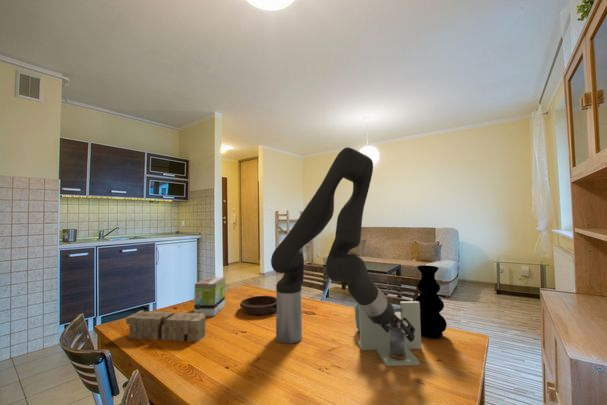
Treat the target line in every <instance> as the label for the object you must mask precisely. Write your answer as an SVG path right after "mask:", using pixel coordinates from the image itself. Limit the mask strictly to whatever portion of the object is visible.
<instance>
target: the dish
mask: <svg viewBox="0 0 607 405" xmlns="http://www.w3.org/2000/svg"><path fill="white" fill-rule="evenodd" d="M239 307H240V308H242V309H243V312H245V313H246V314H248V315H252V316H253V315H254V316H265V315H269V314H271V313H275V314H276V313H277V302H276V297H275V296H270V295H255V296H251V297H248V298H245V299H243V300H241V301H240V302H239Z"/></svg>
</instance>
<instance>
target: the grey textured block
mask: <svg viewBox="0 0 607 405" xmlns="http://www.w3.org/2000/svg"><path fill="white" fill-rule="evenodd" d="M206 317H207V316H205V314H204V313H202V314H201V313H194V312H176V313H175V312H174V311H145V310H143V309H142V310H139V311H137V312H135V313H133V314H131V315H128V316H127V317H125V323H126V325H129V331H128V338H129V339H140V340H143V339H144V340H154V341H155V340H157V341H158V340H159V339H160V338H161V339H160V340H163V341H180V342H181V341H182V342H183V341H185V340H186V339H187V340H186V342H196V343H198V342H200V341H201V340H202V339H203V338H205V337H206Z"/></svg>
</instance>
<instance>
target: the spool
mask: <svg viewBox="0 0 607 405" xmlns="http://www.w3.org/2000/svg"><path fill="white" fill-rule="evenodd" d="M398 327H399V323H398V324H397V326H396V328H397V329H398ZM402 330H403V329H402ZM403 331H404V330H403ZM389 335H390V351H389V356H390V357H391V358H392V359H395V360H405V359H406V353H405V335H404V334H402V333H401V332H397V331H395V330H394V329H392V328H391V327H389Z"/></svg>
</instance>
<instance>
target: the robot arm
mask: <svg viewBox="0 0 607 405" xmlns="http://www.w3.org/2000/svg"><path fill="white" fill-rule="evenodd" d="M373 172H374V162H373V160H372V158H371V157H370V156H368V155H367V154H364V153H362V152H360V151H359V150H356V149H355V148H353V147H350V146H346V147H344V148H343V149H341V150H340V151H339V153H338V154H337V155H336V157H335V158H334V160H333V162H332V164H331V166H330V167H329V170H328V171H327V172H326V175H325V177H324V178H323V181H322V182H321V184H320V186H319V187H318V189H317V190H316V192H315V194H314V195H313V197H312V198H311V199H310V200H309V202H308V203H307V205H306V206H305V208H304V209H303V211H302V212H301V214H300V216H299V217H298V219H297V221H296V222H295V223H294V224H293V226H292V228H291V229H290V230H289V232H288V234H287V235H286V236H285V237H284V238H283V240H282V241H281V242H280V243H279V244H278V246H276V248H275V250H274V251H273V253H272V254H271V258H270V264H271V269H272V270H274V271H275V272H276V273H279V274H283V276H282V277H281V279H279V280H278V281H277V282H276V287H275V288H276V289H275V291H276V293H275V294H276V295H275V296H276V297H275V298H276V302H277V313H275V332H276V333H275V341H276V342H278V343H281V344H295V343H298V342H300V341H301V340H302V339H303V317H302V315H303V310H302V308H303V307H302V285H303V282H304V275H305V274H304V272H305V268H304V266H305V260H304V257H305V256H304V254H303V251H302V250H301V249H302V248H304V246H306V245H307V244H309V243H310V242H311V241H313V239H315V238H317V237H318V235H320V234H321V233H322V232H323V231H324V230H325V228H326V227H327V225H328V224H329V223H330V221H331V220H332V218H333V216H334V213H335V210H334V209H335V194H336V191H337V188H338V186H339V185H340V182H341V181H342V180H343V179H345V180H347V181H350V182H352V193H351V196H350V197H349V198H348V200H347V202H345V203H344V205H343V206H342V208H341V209H340V211H339V214H338V216H337V221H336V226H335V237H334V240H333V242H332V244H331V247H330V250H329V253H328V255H327V256H326V257H327V258H326V262H325V273H326V275H327V277H328V278H329V279H330V280H331V281H333V282H340V283H341V282H342V283H348V284H347V290H348V293H349V294H350V296H351V297H352V298H353V299H354V300H355V302H356V303H358V304H359V305H360V307H361V308H362V310H363V311H364V312H365V313H366V315H367V316H368V317H369V318H370V319H371V321H372V322H373V323H375V324H378V325H379V326H381V327H382V328H383V329H384V330H385V331H386V332H387V333H389V327H391V328H392V329H394V330H395V331H397V332H401V333H402V334H404V335H405V336H406V338H407V339H408V340H409V341H410V342H412V341H413V340H414V338H415V335H414V332H415V328H414V327H413V326H412V325H411V323H410V322H409V321H408V320H407V319H406V318H403V319H402V320H401V317H398V315H397V314H394V308H395V307H394V306H393V304H392V303H391V302H390V300H389V299H388V297H386V295H385V294H384V293H383V291H382V290H380V289H379V288H378V287H377V285H376V284H375V283H374V281H372V279H371V276H370V275H369V271H368V269H367V266H366V264H365V261H364V260H363V259H362V258H361V257H360V256H359V255H357V254H349V252H350V251H351V250H353V249H355V248H358V247H359V246H360V244H361V240H362V238H361V237H362V226H363V224H362V222H363V216H364V208H365V204H366V200H367V197H368V193H369V189H370V184H371V181H372V176H373ZM398 323H399V327H398V329H397V328H396V326H397V324H398ZM402 329H403V330H404V331H405V332H404V331H403V330H402Z"/></svg>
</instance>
